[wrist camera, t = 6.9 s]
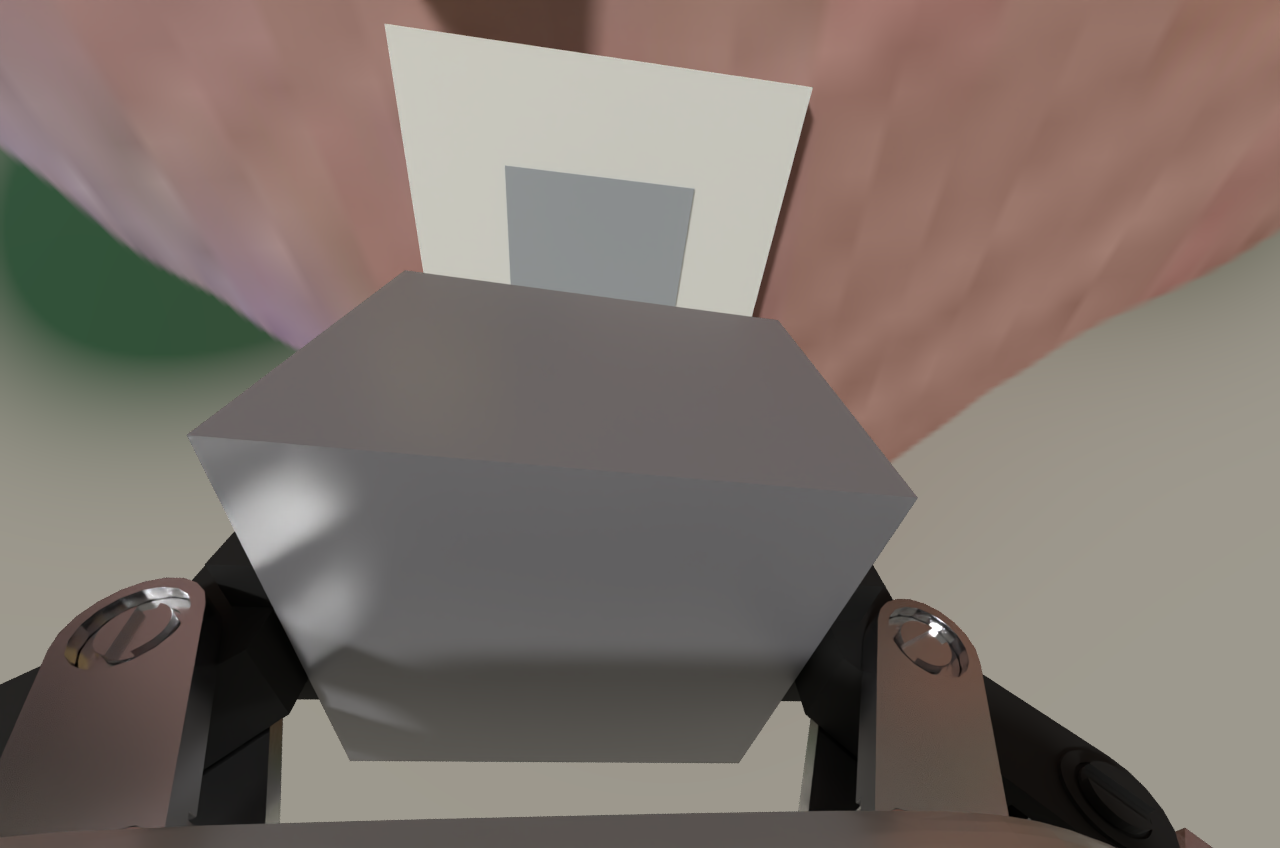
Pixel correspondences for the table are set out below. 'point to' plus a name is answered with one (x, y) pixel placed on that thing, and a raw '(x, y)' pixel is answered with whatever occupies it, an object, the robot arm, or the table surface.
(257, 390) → the charcoal brick
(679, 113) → the base plate
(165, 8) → the table surface
